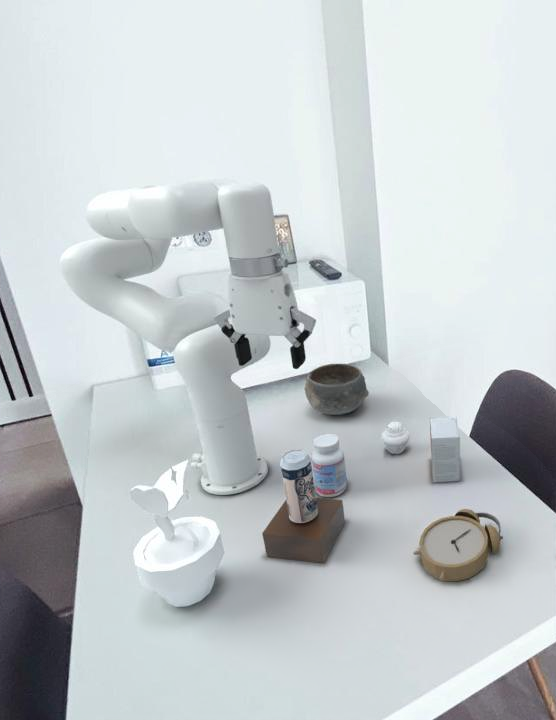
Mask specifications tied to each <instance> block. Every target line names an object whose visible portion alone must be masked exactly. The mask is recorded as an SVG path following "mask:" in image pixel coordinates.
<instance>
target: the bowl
mask: <svg viewBox="0 0 556 720" xmlns="http://www.w3.org/2000/svg"><path fill="white" fill-rule="evenodd" d="M304 393H305V397H306V400H307V402H308V404H309V405H310V406H311V407H312V408H313V410H315V411H317V412H318V413H323V414H326V415H330V416H333V415H334V416H340V415H346V414H349V413H352V412H354V411H355V410H356V409H357V408H358V407H360V406H361V405H362V404H363V402H364V401H365V399H366V398H367V397H369V395H370V394H369V393H370V391H369V390H368V389H367V383H366V378H365V376H364V375H363V372H362V370H361V369H360V368H358V367H357V366H355V365H352V364H349V363H329V364H324V365H321V366H318V367H316V368H313V370H311V371H310V372H309V373H308V374H307V376H306V380H305V385H304Z"/></svg>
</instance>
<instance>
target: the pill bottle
mask: <svg viewBox="0 0 556 720" xmlns="http://www.w3.org/2000/svg"><path fill="white" fill-rule="evenodd" d="M313 449H314V450H313V451H312V452H311V466H312V473H313V480H314V487H315V493H317V494H318V495H319V496H321V497H322V498H334V497H337V496H339V495H341V494H342V493H344V492H345V490H346V489H347V487H348V480H347V479H348V478H347V471H346V470H347V469H346V459H345V451H344V449H343V447H342V446H340V439H339V436H337V435H336V434H333V433H323V434H320V435H318V436H316V437H315V438H314V439H313Z"/></svg>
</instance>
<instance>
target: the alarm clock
mask: <svg viewBox="0 0 556 720" xmlns="http://www.w3.org/2000/svg"><path fill="white" fill-rule="evenodd" d="M480 518H485V519H488V520H490V521H492V522H494V523H495V524H496V525H497V527H498V529H497V528H496V527H495V526H494V525H492V524H485V525H484V526H483V525H482V524H481V520H480ZM501 530H502V529H501V522H500V520H499V519H498V518H497V517H496V516H494V515H493V514H491V513H488V512H480V511H479V512H475V511H473V510H471V509H469V508H462V509H460V510H458V511H457V512H455V514H454V515H450V516H446V517H441V518H439V519H437V520H435V521H432V522H431V523H430V524H429V525H428V526H427V527H425V529H423V531H422V533H421V534H420V537H419V542H418V546H419V549H417V550H415V551H413V554H412V555H413V556H416V555H420V559H421V563H422V566H423V568H424V569H425V571H426V572H427V573H428V574H429V575H431V576H432V577H434V578H435V579H438V580H440V581H445V582H459V581H463V580H468V579H470V578H471V577H474V576H475V575H477V574H478V573H479V572H480V571H481V570H482V569H484V568H485V565H486V564H487V561H488V560H489V553H490V554H491V555H494V554H496V553H498V551H499V550H500V548H501V542H502V540H503V539H504V536H503V535H501V532H502V531H501Z"/></svg>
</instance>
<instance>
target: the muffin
mask: <svg viewBox="0 0 556 720" xmlns="http://www.w3.org/2000/svg"><path fill="white" fill-rule="evenodd" d="M380 436H381V437H380V439H381V441H382V443H383V445H384V447H385V448H386V449H387V451H388V452H389V453H390V454H391V455H398V454H401V453H403V452H404V451H405V449H406V447H407V446H408V443H409V440H410V438H411V434H410V432H409V430H408V429H406V428H405V427H404V425H403V424H402V422H400V421H391V422H389V423H388V424H387V426H386V428H385V430H384V431H383V432H382V434H381V435H380Z"/></svg>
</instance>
